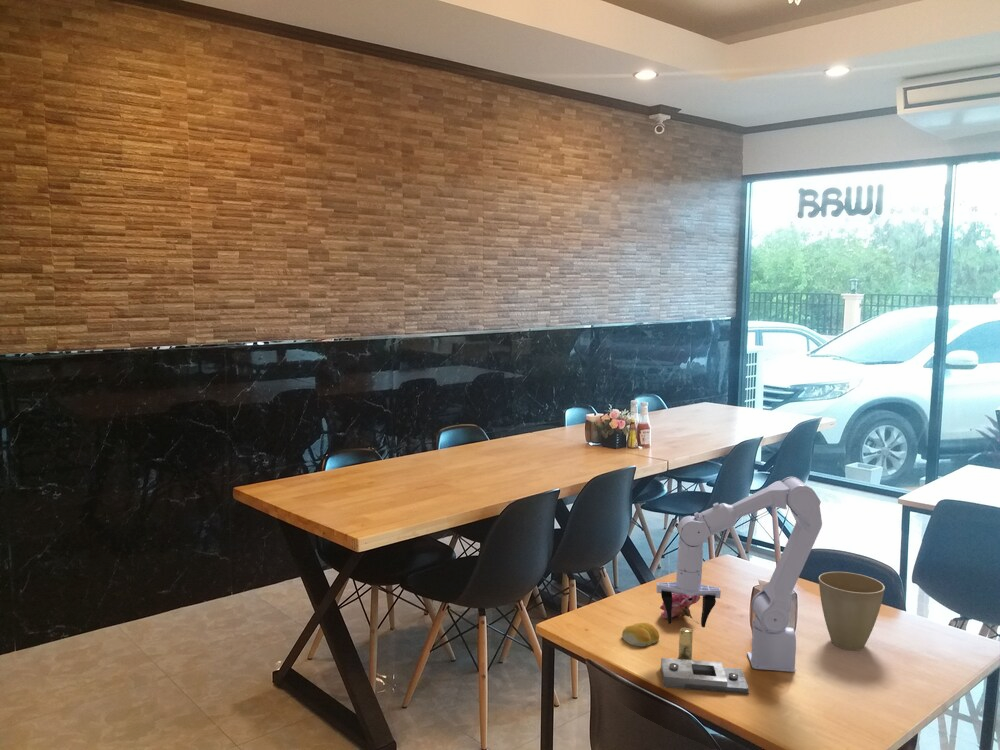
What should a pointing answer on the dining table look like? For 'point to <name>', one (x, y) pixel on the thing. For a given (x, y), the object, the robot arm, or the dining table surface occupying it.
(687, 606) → the flower
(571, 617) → the dining table surface
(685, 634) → the brass pin
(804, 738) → the dining table surface
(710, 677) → the grey plate with knobs
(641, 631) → the bread roll
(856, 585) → the plant pot
